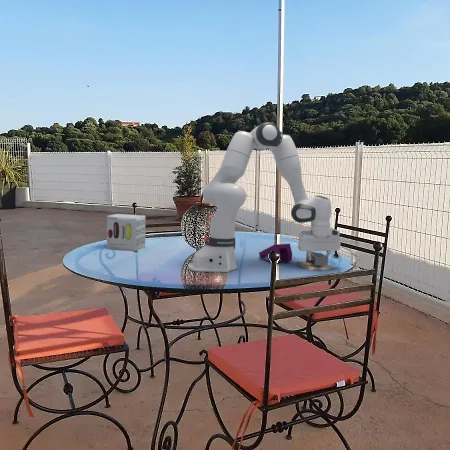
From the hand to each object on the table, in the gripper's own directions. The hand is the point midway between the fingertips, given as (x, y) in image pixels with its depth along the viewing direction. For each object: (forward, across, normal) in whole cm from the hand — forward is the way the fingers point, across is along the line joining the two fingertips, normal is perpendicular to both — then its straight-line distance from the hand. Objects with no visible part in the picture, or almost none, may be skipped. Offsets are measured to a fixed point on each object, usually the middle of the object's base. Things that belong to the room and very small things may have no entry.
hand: (318, 260), depth 214 cm
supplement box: (+5, -86, +59) cm, 104 cm away
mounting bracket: (+5, -15, +20) cm, 26 cm away
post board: (+4, 0, +4) cm, 6 cm away
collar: (+2, 0, 0) cm, 2 cm away
